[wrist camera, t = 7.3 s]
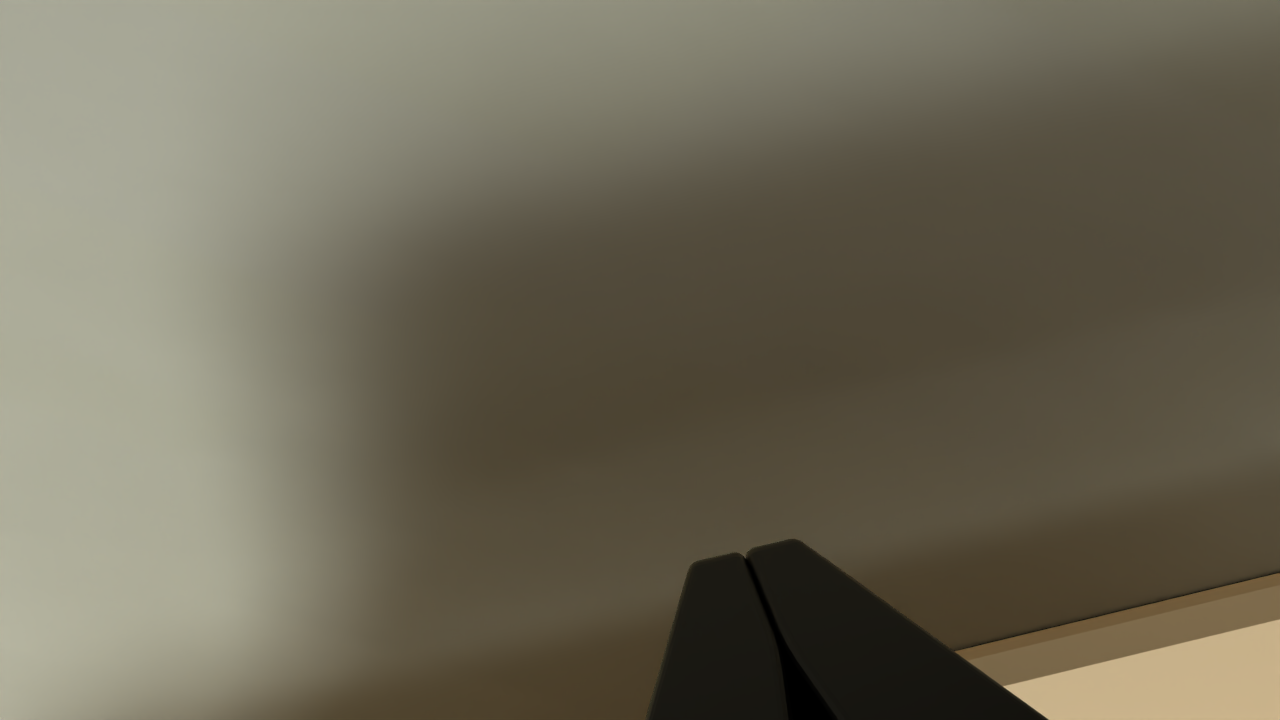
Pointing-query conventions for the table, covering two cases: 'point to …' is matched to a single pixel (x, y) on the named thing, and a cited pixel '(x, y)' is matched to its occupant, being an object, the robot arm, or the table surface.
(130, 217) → the table surface
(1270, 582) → the carton
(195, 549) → the table surface
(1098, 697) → the front flap
